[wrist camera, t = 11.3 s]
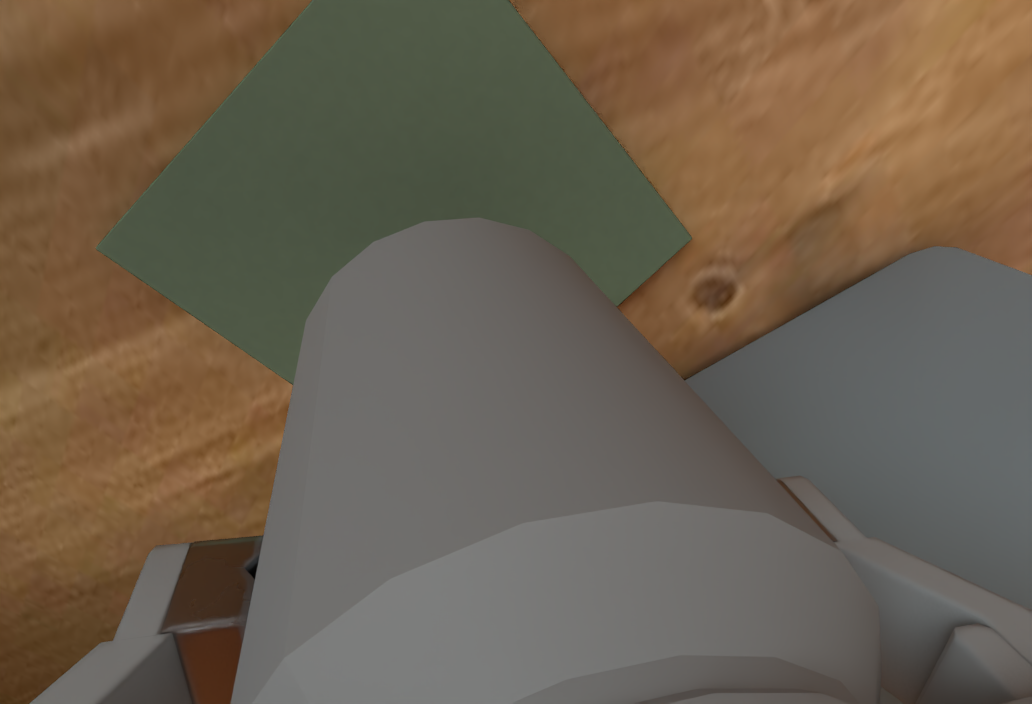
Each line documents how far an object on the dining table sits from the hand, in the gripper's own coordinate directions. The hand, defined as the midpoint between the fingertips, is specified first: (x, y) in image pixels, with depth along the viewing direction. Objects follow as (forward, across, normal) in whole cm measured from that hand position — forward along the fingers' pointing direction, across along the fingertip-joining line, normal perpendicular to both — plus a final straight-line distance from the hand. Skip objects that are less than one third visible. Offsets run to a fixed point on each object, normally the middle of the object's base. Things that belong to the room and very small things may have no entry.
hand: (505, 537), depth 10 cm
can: (+7, 0, 0) cm, 7 cm away
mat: (+16, 0, 0) cm, 16 cm away
